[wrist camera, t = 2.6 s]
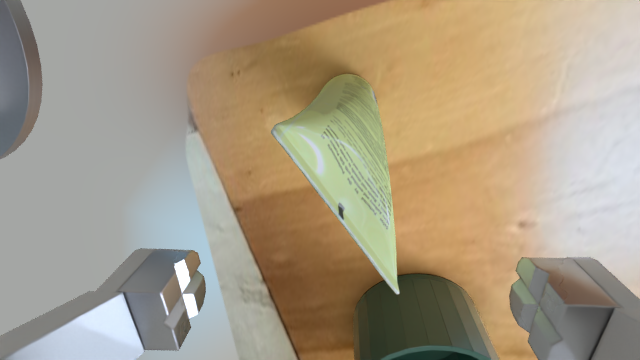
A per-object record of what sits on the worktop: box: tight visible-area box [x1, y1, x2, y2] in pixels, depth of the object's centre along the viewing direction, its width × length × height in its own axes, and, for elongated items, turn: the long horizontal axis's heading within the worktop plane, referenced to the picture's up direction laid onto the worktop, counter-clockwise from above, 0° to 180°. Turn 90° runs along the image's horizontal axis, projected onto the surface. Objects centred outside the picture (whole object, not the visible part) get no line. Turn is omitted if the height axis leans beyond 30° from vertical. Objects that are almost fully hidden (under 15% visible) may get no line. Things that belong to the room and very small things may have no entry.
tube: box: [271, 74, 400, 294], centre depth 20 cm, size 6×5×20 cm
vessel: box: [353, 274, 500, 360], centre depth 35 cm, size 14×14×9 cm
